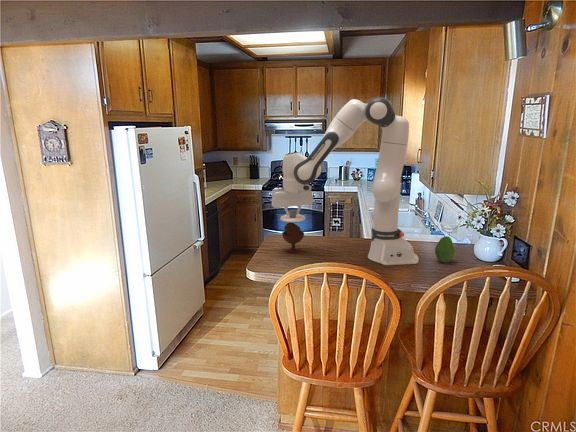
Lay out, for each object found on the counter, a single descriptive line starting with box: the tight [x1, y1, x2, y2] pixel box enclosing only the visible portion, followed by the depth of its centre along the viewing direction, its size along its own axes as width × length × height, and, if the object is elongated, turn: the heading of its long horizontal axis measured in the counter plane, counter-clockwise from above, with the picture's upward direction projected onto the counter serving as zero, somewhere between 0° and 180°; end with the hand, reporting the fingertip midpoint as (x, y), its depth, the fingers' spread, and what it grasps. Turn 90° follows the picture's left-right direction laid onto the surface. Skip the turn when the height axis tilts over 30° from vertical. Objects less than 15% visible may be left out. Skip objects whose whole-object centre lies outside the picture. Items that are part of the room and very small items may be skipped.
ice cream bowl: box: [281, 222, 305, 254], centre depth 181 cm, size 11×11×15 cm
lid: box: [279, 209, 306, 223], centre depth 178 cm, size 12×12×4 cm
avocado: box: [434, 235, 455, 264], centre depth 164 cm, size 8×8×12 cm
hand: (292, 215), depth 179 cm, fingers closed on lid, 3 cm apart
